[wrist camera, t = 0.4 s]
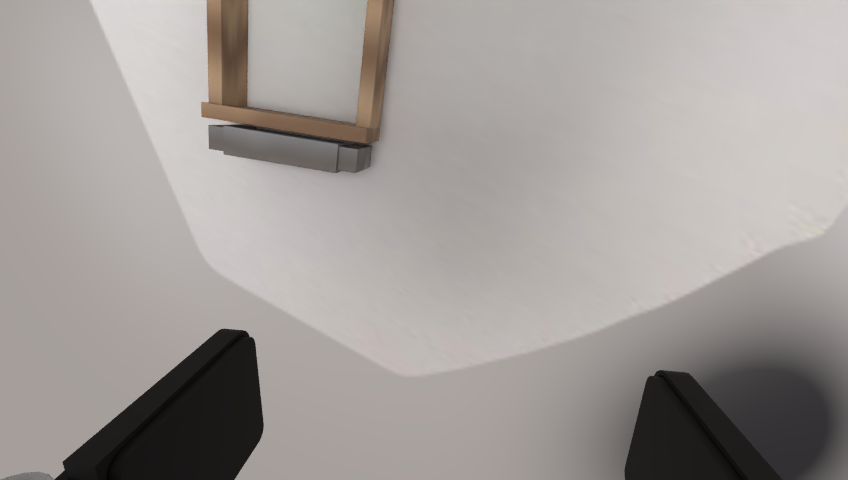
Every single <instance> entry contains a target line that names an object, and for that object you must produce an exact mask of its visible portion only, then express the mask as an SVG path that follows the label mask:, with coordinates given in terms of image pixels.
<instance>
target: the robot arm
mask: <svg viewBox="0 0 848 480" xmlns="http://www.w3.org/2000/svg"><path fill="white" fill-rule="evenodd" d="M262 433H263V415H262V405H261V396H260V386H259V376H258V367H257V357H256V347H255V341H254V339H253V338H252V337H249V334H248V333H247V332H246V331H243V330H232V329H221V330H219V331H218V332H216V333H215V334H214V335H213V336H212V337H210V338H209V339H208V340H207V341H206V342H205V343H204V344H202V345H201V346H200V347H199V348H198V349H196V350H195V351H194V352H193V353H191V355H189V356H188V357H187V358H185V359H184V360H183V361H182V362H181V363H180V364H178V365H177V366H176V367H175V368H174V369H172V370H171V371H170V372H169V373H168V374H167V375H166V376H164V377H163V378H162V379H161V380H159V381H158V382H157V383H156V384H155V385H154V386H152V387H151V388H150V389H149V390H147V391H146V392H145V393H144V394H143V395H142V396H140V397H139V398H138V399H137V400H136V401H134V402H133V403H132V404H131V405H130V406H128V407H127V408H126V409H125V410H124V411H123V412H121V413H120V414H119V415H118V416H117V417H115V418H114V419H113V420H112V421H111V422H110V423H108V424H107V425H106V426H105V427H104V428H102V429H101V430H100V431H99V432H98V433H96V435H94V436H93V437H92V438H90V439H89V440H88V441H87V442H86V443H85V444H83V445H82V446H81V447H80V448H79V449H77V450H76V451H75V452H74V453H73V454H71V455H70V456H69V457H68V458H67V459H66V460H64V461H63V465H64V468H65V471H64V472H63V473H61V474H60V475H59V476H58V477H57V478H56V479H53V478H52V477H51V476H50V475H49V474H45V473H41V472H31V473H22V474H18V475H14V476H10V477H7V478H4V479H1V480H234V479H235V478H236V476H237V475H238V473H239V471H240V470H241V469H242V467H243V465H244V464H245V462H246V461H247V459H248V458H249V456H250V455H251V453H252V452H253V450H254V449H255V447H256V445H257V444H258V442H259V441H260V439H261V435H262ZM625 480H782V479H781V478H780V476H779V475H778V474H777V473H776V472H775V471H774V470H773V468H772V467H771V466H770V465H769V464H768V463H767V462H766V461H765V459H763V457H762V456H761V455H760V454H759V452H758V451H757V450H756V449H755V448H754V447H753V446H752V444H751V443H750V442H749V441H748V440H747V439H746V438H745V436H744V435H743V434H742V433H741V432H740V431H739V430H738V428H737V427H736V426H735V425H734V424H733V423H732V422H731V420H730V419H729V418H728V417H727V416H726V415H725V414H724V412H723V411H722V410H721V409H720V408H719V407H718V406H717V404H716V403H715V402H714V401H713V400H712V399H711V398H710V397H709V395H708V394H707V393H706V392H705V391H704V390H703V388H702V387H701V386H700V385H699V384H698V383H697V382H696V380H695V379H694V378H693V377H692V376H691V375H690V374H689V373H685V372H674V371H664V370H660V371H657V372H656V373H655V376H649V377H648V379H647V381H646V385H645V389H644V393H643V397H642V401H641V405H640V409H639V413H638V417H637V421H636V425H635V429H634V433H633V437H632V441H631V445H630V449H629V454H628V457H627V462H626V466H625Z"/></svg>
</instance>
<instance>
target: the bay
mask: <svg viewBox="0 0 848 480" xmlns="http://www.w3.org/2000/svg"><path fill="white" fill-rule="evenodd" d="M393 4H394V0H368V2H367V12H366V23H365V34H364V45H363V56H362V67H361V78H360V89H359V100H358V111H357V122H356V124H353V123H347V122H341V121H334V120H328V119H322V118H316V117H309V116H303V115H297V114H291V113H284V112H278V111H272V110H265V109H259V108H253V107H247V30H248V0H207V33H208V85H209V103H206V102H201V107H202V117H206V118H212V119H218V120H224V121H230V122H237V123H243V124H249V125H255V126H261V127H267V128H274V129H280V130H286V131H292V132H298V133H304V134H311V135H317V136H323V137H329V138H335V139H341V140H348V141H354V142H360V143H370V142H374V141H379V132H380V123H381V113H382V104H383V95H384V86H385V77H386V68H387V59H388V50H389V41H390V31H391V22H392V13H393ZM371 148H372V146H369V145H362V144H356V143H355V144H350V145H346V143H344V142H338V141H332V140H326V139H320V138H313V137H307V136H301V135H295V134H289V133H283V132H277V131H270V130H264V129H258V128H256V127H252V126H245V125H209V149H214V150H220V151H224V154H225V155H231V156H237V157H243V158H249V159H255V160H261V161H267V162H273V163H279V164H285V165H291V166H297V167H303V168H309V169H315V170H321V171H327V172H333V173H337V172H340V171H346V172H352V173H357V172H359V171H361V170H364V169H366V168H368V167H370V158H371Z"/></svg>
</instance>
